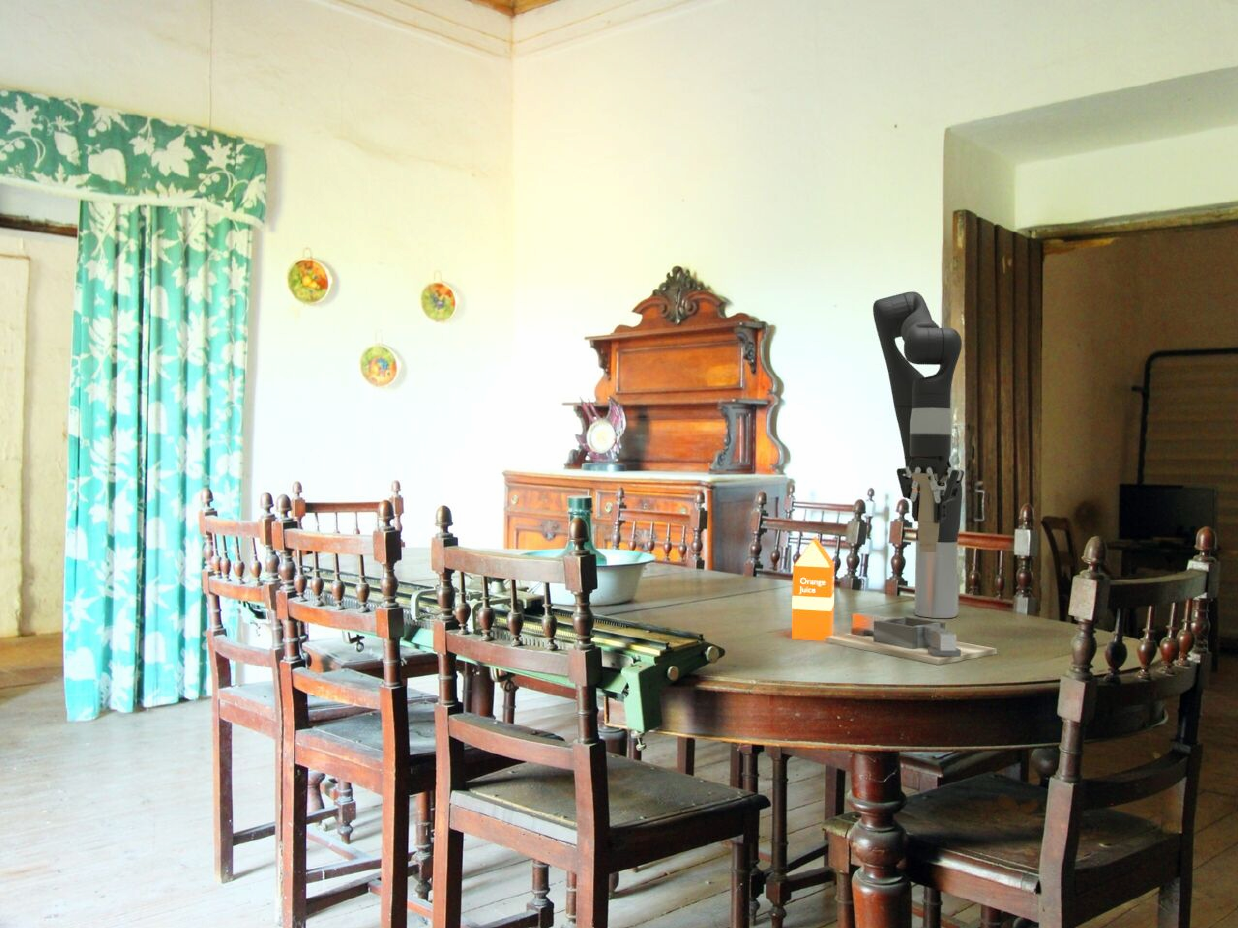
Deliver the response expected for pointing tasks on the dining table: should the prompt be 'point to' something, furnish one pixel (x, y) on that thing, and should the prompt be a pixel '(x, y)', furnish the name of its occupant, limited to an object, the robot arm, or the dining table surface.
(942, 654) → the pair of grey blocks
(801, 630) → the orange juice
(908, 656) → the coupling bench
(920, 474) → the handle
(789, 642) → the dining table surface
